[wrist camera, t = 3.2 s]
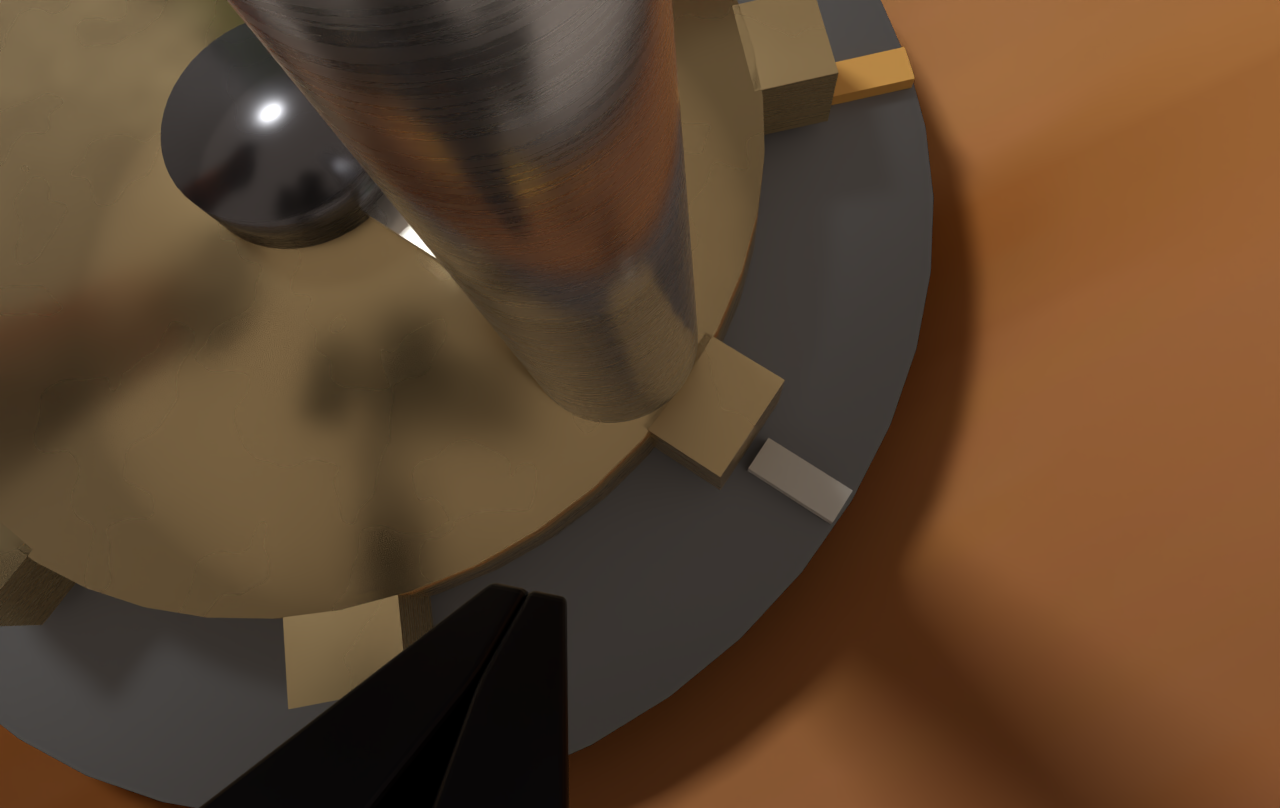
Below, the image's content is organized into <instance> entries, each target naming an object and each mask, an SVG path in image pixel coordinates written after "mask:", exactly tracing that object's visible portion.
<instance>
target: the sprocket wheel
mask: <svg viewBox="0 0 1280 808" xmlns="http://www.w3.org/2000/svg"><path fill="white" fill-rule="evenodd" d="M837 77H838V69H837V66H836V63H835V59H834V56H833V53H832V49H831V46H830V43H829V39H828V36H827V33H826V29H825V26H824V23H823V19H822V16H821V13H820V9H819V6H818V3H817V0H754V1H750V2H746V3H741V4H738V1H737V0H0V626H26V625H43V623H44V622H45V621H46V620H47V618H48V617H49V616H50V615H51V613H52V612H53V611H54V610H55V608H56V607H57V606H58V605H59V603H60V602H61V601H62V600H63V598H64V597H65V596H66V595H67V593H68V592H69V591H70V590H71V588H72V587H73V586H74V585H75V583H77V584H79V585H81V586H83V587H85V588H87V589H90V590H93V591H96V592H99V593H102V594H106V595H109V596H112V597H115V598H118V599H121V600H124V601H127V602H130V603H133V604H136V605H139V606H142V607H146V608H152V609H158V610H164V611H170V612H176V613H182V614H189V615H195V616H201V617H207V618H268V619H276V618H283V628H284V645H285V662H286V680H287V697H288V709H293V708H298V707H303V706H309V705H314V704H319V703H324V702H330V701H335V700H339V699H341V698H342V697H343V696H344V695H346V694H347V693H348V692H350V691H351V690H352V689H354V688H355V687H356V686H357V685H359V684H360V683H361V682H363V681H364V680H365V679H367V678H368V677H369V676H370V675H372V674H373V673H374V672H376V671H377V670H378V669H380V668H381V667H382V666H383V665H385V664H386V663H387V662H389V661H390V660H391V659H393V658H394V657H395V656H396V655H398V654H399V653H400V652H402V651H403V650H404V649H406V648H407V647H408V646H409V645H411V644H412V643H413V642H415V641H416V640H417V639H419V638H420V637H421V636H422V635H424V634H425V633H426V632H428V631H429V630H430V629H431V628H433V617H432V608H431V599H430V596H432V595H436V594H439V593H442V592H444V591H447V590H449V589H451V588H454V587H456V586H459V585H461V584H463V583H466V582H468V581H471V580H473V579H476V578H478V577H480V576H483V575H485V574H488V573H490V572H492V571H495V570H497V569H499V568H501V567H503V566H505V565H506V564H508V563H510V562H511V561H513V560H515V559H517V558H518V557H520V556H522V555H524V554H525V553H527V552H529V551H531V550H532V549H534V548H536V547H538V546H539V545H541V544H543V543H545V542H546V541H548V540H550V539H551V538H553V537H555V536H556V535H557V534H559V533H560V532H561V531H563V530H564V529H565V528H567V527H568V526H569V525H570V524H572V523H573V522H574V521H576V520H577V519H578V518H580V517H581V516H582V515H584V514H585V513H586V512H588V511H589V510H590V509H592V508H593V507H594V506H595V505H597V504H598V503H599V502H601V501H602V500H603V499H605V498H606V497H607V496H608V495H609V494H610V493H611V492H612V491H613V490H614V489H615V488H616V487H617V486H618V485H619V484H620V483H621V482H622V481H623V480H624V479H625V478H626V477H627V476H628V475H629V474H630V473H631V472H632V471H633V470H634V469H635V468H636V467H637V466H638V465H639V464H640V463H641V462H642V461H643V460H644V459H645V458H646V457H647V456H648V455H649V454H650V453H651V452H652V450H653V449H654V448H657V449H658V450H660V451H661V452H663V453H664V454H666V455H667V456H669V457H670V458H672V459H673V460H675V461H677V462H678V463H680V464H681V465H683V466H684V467H686V468H687V469H689V470H690V471H692V472H693V473H695V474H696V475H698V476H699V477H701V478H702V479H704V480H706V481H707V482H709V483H710V484H712V485H713V486H715V487H716V488H718V489H719V490H721V488H722V487H723V485H724V484H725V482H726V481H727V479H728V478H729V476H730V475H731V473H732V472H733V470H734V469H735V467H736V466H737V464H738V463H739V461H740V460H741V458H742V457H743V455H744V454H745V452H746V451H747V449H748V448H749V446H750V445H751V443H752V442H753V440H754V439H755V437H756V436H757V434H758V432H759V431H760V429H761V428H762V426H763V425H764V423H765V422H766V420H767V419H768V417H769V416H770V414H771V413H772V411H773V410H774V408H775V407H776V405H777V404H778V402H779V399H780V395H781V392H782V388H783V385H784V381H785V380H784V379H782V378H781V377H779V376H778V375H776V374H774V373H773V372H771V371H769V370H768V369H766V368H764V367H763V366H761V365H759V364H758V363H756V362H754V361H753V360H751V359H749V358H748V357H746V356H744V355H743V354H741V353H739V352H738V351H736V350H735V349H733V348H731V347H730V346H728V345H726V344H725V343H723V341H724V338H725V336H726V333H727V331H728V329H729V326H730V324H731V322H732V319H733V317H734V314H735V312H736V310H737V307H738V305H739V303H740V299H741V296H742V292H743V288H744V284H745V281H746V277H747V273H748V269H749V266H750V262H751V258H752V254H753V251H754V246H755V237H756V229H757V220H758V212H759V203H760V195H761V185H762V175H763V165H764V155H765V148H764V135H766V134H770V133H775V132H779V131H784V130H788V129H793V128H798V127H802V126H807V125H811V124H816V123H820V122H825V121H828V117H829V113H830V109H831V104H832V100H833V95H834V91H835V86H836V82H837Z"/></svg>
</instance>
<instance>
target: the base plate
mask: <svg viewBox="0 0 1280 808" xmlns="http://www.w3.org/2000/svg"><path fill="white" fill-rule="evenodd" d="M737 1H738V4H741V3H746V2H750V1H754V0H737ZM817 3H818V6H819V9H820V13H821V16H822V19H823V23H824V26H825V29H826V33H827V36H828V39H829V43H830V46H831V49H832V53H833V56H834V59H835V63H836V66H837V69H838V77H837V82H836V86H835V91H834V95H833V100H832V104H831V109H830V113H829V117H828V121H825V122H820V123H816V124H811V125H807V126H802V127H798V128H793V129H788V130H784V131H779V132H775V133H770V134H766V135H764V148H765V155H764V165H763V175H762V185H761V195H760V203H759V212H758V220H757V229H756V237H755V246H754V251H753V254H752V258H751V262H750V266H749V269H748V273H747V277H746V281H745V284H744V288H743V292H742V296H741V299H740V303H739V305H738V307H737V310H736V312H735V314H734V317H733V319H732V322H731V324H730V326H729V329H728V331H727V333H726V336H725V338H724V341H723V343H725V344H726V345H728V346H730V347H731V348H733V349H735V350H736V351H738V352H739V353H741V354H743V355H744V356H746V357H748V358H749V359H751V360H753V361H754V362H756V363H758V364H759V365H761V366H763V367H764V368H766V369H768V370H769V371H771V372H773V373H774V374H776V375H778V376H779V377H781V378H782V379H784V380H785V381H784V385H783V388H782V392H781V395H780V399H779V402H778V404H777V405H776V407H775V408H774V410H773V411H772V413H771V414H770V416H769V417H768V419H767V420H766V422H765V423H764V425H763V426H762V428H761V429H760V431H759V432H758V434H757V436H756V437H755V439H754V440H753V442H752V443H751V445H750V446H749V448H748V449H747V451H746V452H745V454H744V455H743V457H742V458H741V460H740V461H739V463H738V464H737V466H736V467H735V469H734V470H733V472H732V473H731V475H730V476H729V478H728V479H727V481H726V482H725V484H724V485H723V487H722V488H721V490H719V489H718V488H716V487H715V486H713V485H712V484H710V483H709V482H707V481H706V480H704V479H702V478H701V477H699V476H698V475H696V474H695V473H693V472H692V471H690V470H689V469H687V468H686V467H684V466H683V465H681V464H680V463H678V462H677V461H675V460H673V459H672V458H670V457H669V456H667V455H666V454H664V453H663V452H661V451H660V450H658V449H657V448H654V449H653V450H652V452H651V453H650V454H649V455H648V456H647V457H646V458H645V459H644V460H643V461H642V462H641V463H640V464H639V465H638V466H637V467H636V468H635V469H634V470H633V471H632V472H631V473H630V474H629V475H628V476H627V477H626V478H625V479H624V480H623V481H622V482H621V483H620V484H619V485H618V486H617V487H616V488H615V489H614V490H613V491H612V492H611V493H610V494H609V495H608V496H607V497H606V498H605V499H603V500H602V501H601V502H599V503H598V504H597V505H595V506H594V507H593V508H592V509H590V510H589V511H588V512H586V513H585V514H584V515H582V516H581V517H580V518H578V519H577V520H576V521H574V522H573V523H572V524H570V525H569V526H568V527H567V528H565V529H564V530H563V531H561V532H560V533H559V534H557V535H556V536H555V537H553V538H551V539H550V540H548V541H546V542H545V543H543V544H541V545H539V546H538V547H536V548H534V549H532V550H531V551H529V552H527V553H525V554H524V555H522V556H520V557H518V558H517V559H515V560H513V561H511V562H510V563H508V564H506V565H505V566H503V567H501V568H499V569H497V570H495V571H492V572H490V573H488V574H485V575H483V576H480V577H478V578H476V579H473V580H471V581H468V582H466V583H463V584H461V585H459V586H456V587H454V588H451V589H449V590H447V591H444V592H442V593H439V594H436V595H432V596H430V599H431V608H432V617H433V627H434V626H435V625H437V624H438V623H439V622H441V621H442V620H443V619H444V618H446V617H447V616H448V615H450V614H451V613H452V612H454V611H455V610H456V609H457V608H459V607H460V606H461V605H463V604H464V603H465V602H467V601H468V600H469V599H470V598H472V597H473V596H474V595H476V594H477V593H478V592H480V591H481V590H482V589H483V588H485V587H486V586H488V585H490V584H493V583H500V584H505V585H510V586H515V587H520V588H523V589H525V590H527V591H528V593H530V592H532V591H540V592H545V593H549V594H554V595H559V596H563V597H564V598H565V599H566V601H567V651H568V755H569V754H572V753H574V752H576V751H578V750H581V749H583V748H585V747H588V746H590V745H592V744H593V743H595V742H597V741H598V740H600V739H602V738H603V737H605V736H606V735H608V734H610V733H611V732H613V731H615V730H616V729H618V728H619V727H621V726H623V725H624V724H626V723H628V722H629V721H631V720H632V719H634V718H636V717H637V716H639V715H641V714H642V713H644V712H645V711H647V710H649V709H650V708H652V707H654V706H655V705H657V704H658V703H660V702H662V701H663V700H665V699H667V698H668V697H670V696H671V695H672V694H673V693H675V692H676V691H677V690H678V689H679V688H681V687H682V686H683V685H684V684H686V683H687V682H688V681H689V680H690V679H692V678H693V677H694V676H695V675H696V674H698V673H699V672H700V671H701V670H703V669H704V668H705V667H706V666H707V665H709V664H710V663H711V662H712V661H714V660H715V659H716V658H717V657H718V656H720V655H721V654H722V653H723V652H724V651H726V650H727V649H728V648H729V647H731V646H732V645H733V644H734V643H735V642H737V641H738V640H739V639H740V638H741V637H742V636H743V635H744V634H745V633H746V632H747V631H748V630H749V629H750V628H751V626H752V625H753V624H754V623H755V622H756V621H757V620H758V619H759V618H760V617H761V616H762V615H763V613H764V612H765V611H766V610H767V609H768V608H769V607H770V606H771V605H772V604H773V603H774V602H775V601H776V599H777V598H778V597H779V596H780V595H781V594H782V593H783V592H784V591H785V590H786V589H787V588H788V586H789V585H790V584H791V583H792V582H793V581H794V580H795V579H796V578H797V577H798V576H799V575H800V573H801V572H802V571H803V570H804V568H805V567H806V565H807V564H808V562H809V561H810V560H811V558H812V557H813V555H814V554H815V552H816V551H817V550H818V548H819V547H820V545H821V544H822V542H823V541H824V540H825V538H826V537H827V535H828V534H829V532H830V531H831V530H832V528H833V527H834V525H835V524H836V522H837V521H838V520H839V518H840V517H841V515H842V514H843V512H844V511H845V509H846V508H847V507H848V505H849V504H850V502H851V501H852V499H853V497H854V495H855V493H856V491H857V489H858V487H859V485H860V483H861V481H862V479H863V478H864V476H865V474H866V472H867V470H868V468H869V466H870V464H871V462H872V460H873V458H874V456H875V454H876V452H877V450H878V448H879V446H880V444H881V442H882V440H883V438H884V436H885V434H886V432H887V430H888V428H889V426H890V424H891V421H892V418H893V415H894V413H895V410H896V407H897V404H898V401H899V398H900V395H901V392H902V389H903V386H904V383H905V380H906V377H907V374H908V372H909V369H910V366H911V363H912V360H913V357H914V354H915V351H916V348H917V343H918V337H919V332H920V327H921V321H922V316H923V311H924V305H925V300H926V295H927V289H928V284H929V278H930V273H931V251H932V225H933V189H932V180H931V171H930V163H929V154H928V145H927V136H926V127H925V124H924V120H923V116H922V112H921V109H920V105H919V101H918V98H917V94H916V90H915V87H914V83H913V82H914V79H915V77H914V74H913V71H912V68H911V65H910V62H909V59H908V56H907V53H906V50H905V47H901V45H900V43H899V41H898V38H897V36H896V34H895V32H894V29H893V27H892V25H891V23H890V20H889V18H888V16H887V13H886V11H885V9H884V7H883V4H882V2H881V0H817ZM337 701H338V700H335V701H330V702H324V703H319V704H314V705H309V706H303V707H298V708H293V709H288V697H287V680H286V662H285V645H284V628H283V618H276V619H268V618H207V617H201V616H195V615H189V614H182V613H176V612H170V611H164V610H158V609H152V608H146V607H142V606H139V605H136V604H133V603H130V602H127V601H124V600H121V599H118V598H115V597H112V596H109V595H106V594H102V593H99V592H96V591H93V590H90V589H87V588H85V587H83V586H81V585H79V584H77V583H75V585H74V586H73V587H72V588H71V590H70V591H69V592H68V593H67V595H66V596H65V597H64V598H63V600H62V601H61V602H60V603H59V605H58V606H57V607H56V608H55V610H54V611H53V612H52V613H51V615H50V616H49V617H48V618H47V620H46V621H45V622H44V623H43V625H26V626H0V724H1V725H2V726H3V727H5V728H6V729H7V730H8V731H10V732H11V733H12V734H14V735H15V736H16V737H17V738H19V739H20V740H22V741H24V742H26V743H28V744H29V745H31V746H33V747H35V748H37V749H39V750H40V751H42V752H44V753H46V754H48V755H50V756H52V757H53V758H55V759H57V760H59V761H61V762H63V763H64V764H66V765H68V766H70V767H72V768H74V769H75V770H77V771H79V772H81V773H83V774H85V775H86V776H89V777H92V778H95V779H98V780H101V781H104V782H106V783H109V784H112V785H115V786H118V787H121V788H124V789H127V790H129V791H132V792H135V793H138V794H141V795H144V796H147V797H150V798H153V799H155V800H158V801H161V802H166V803H171V804H177V805H183V806H188V807H194V808H199V807H200V806H202V805H203V804H204V803H206V802H207V801H208V800H209V799H211V798H212V797H213V796H215V795H216V794H217V793H219V792H220V791H221V790H222V789H224V788H225V787H226V786H228V785H229V784H230V783H232V782H233V781H234V780H235V779H237V778H238V777H239V776H241V775H242V774H243V773H245V772H246V771H247V770H248V769H250V768H251V767H252V766H254V765H255V764H256V763H257V762H259V761H260V760H261V759H263V758H264V757H265V756H267V755H268V754H269V753H270V752H272V751H273V750H274V749H276V748H277V747H278V746H280V745H281V744H282V743H283V742H285V741H286V740H287V739H289V738H290V737H291V736H293V735H294V734H295V733H296V732H298V731H299V730H300V729H302V728H303V727H304V726H306V725H307V724H308V723H309V722H311V721H312V720H313V719H315V718H316V717H317V716H319V715H320V714H321V713H322V712H324V711H325V710H326V709H328V708H329V707H330V706H332V705H333V704H334V703H335V702H337Z"/></svg>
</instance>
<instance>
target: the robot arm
mask: <svg viewBox="0 0 1280 808" xmlns="http://www.w3.org/2000/svg"><path fill="white" fill-rule="evenodd" d="M199 808H569V755H568V651H567V601H566V599H565V598H564V597H563V596H559V595H554V594H549V593H545V592H540V591H532V592H530V593H528V591H527V590H525V589H523V588H520V587H515V586H510V585H505V584H500V583H493V584H490V585H488V586H486V587H485V588H483V589H482V590H481V591H480V592H478V593H477V594H476V595H474V596H473V597H472V598H470V599H469V600H468V601H467V602H465V603H464V604H463V605H461V606H460V607H459V608H457V609H456V610H455V611H454V612H452V613H451V614H450V615H448V616H447V617H446V618H444V619H443V620H442V621H441V622H439V623H438V624H437V625H435V626H434V627H433V628H431V629H430V630H429V631H428V632H426V633H425V634H424V635H422V636H421V637H420V638H419V639H417V640H416V641H415V642H413V643H412V644H411V645H409V646H408V647H407V648H406V649H404V650H403V651H402V652H400V653H399V654H398V655H396V656H395V657H394V658H393V659H391V660H390V661H389V662H387V663H386V664H385V665H383V666H382V667H381V668H380V669H378V670H377V671H376V672H374V673H373V674H372V675H370V676H369V677H368V678H367V679H365V680H364V681H363V682H361V683H360V684H359V685H357V686H356V687H355V688H354V689H352V690H351V691H350V692H348V693H347V694H346V695H344V696H343V697H342V698H341V699H339V700H338V701H337V702H335V703H334V704H333V705H332V706H330V707H329V708H328V709H326V710H325V711H324V712H322V713H321V714H320V715H319V716H317V717H316V718H315V719H313V720H312V721H311V722H309V723H308V724H307V725H306V726H304V727H303V728H302V729H300V730H299V731H298V732H296V733H295V734H294V735H293V736H291V737H290V738H289V739H287V740H286V741H285V742H283V743H282V744H281V745H280V746H278V747H277V748H276V749H274V750H273V751H272V752H270V753H269V754H268V755H267V756H265V757H264V758H263V759H261V760H260V761H259V762H257V763H256V764H255V765H254V766H252V767H251V768H250V769H248V770H247V771H246V772H245V773H243V774H242V775H241V776H239V777H238V778H237V779H235V780H234V781H233V782H232V783H230V784H229V785H228V786H226V787H225V788H224V789H222V790H221V791H220V792H219V793H217V794H216V795H215V796H213V797H212V798H211V799H209V800H208V801H207V802H206V803H204V804H203V805H202V806H200V807H199Z"/></svg>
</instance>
